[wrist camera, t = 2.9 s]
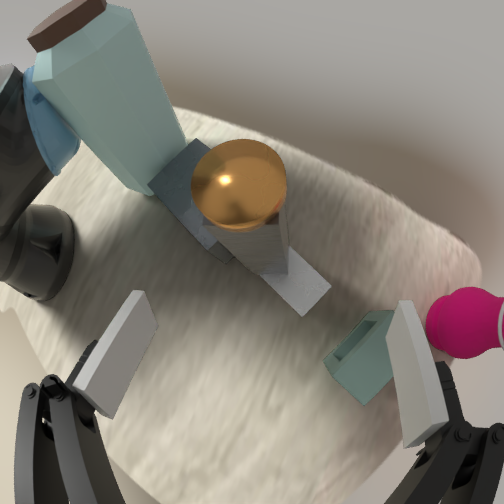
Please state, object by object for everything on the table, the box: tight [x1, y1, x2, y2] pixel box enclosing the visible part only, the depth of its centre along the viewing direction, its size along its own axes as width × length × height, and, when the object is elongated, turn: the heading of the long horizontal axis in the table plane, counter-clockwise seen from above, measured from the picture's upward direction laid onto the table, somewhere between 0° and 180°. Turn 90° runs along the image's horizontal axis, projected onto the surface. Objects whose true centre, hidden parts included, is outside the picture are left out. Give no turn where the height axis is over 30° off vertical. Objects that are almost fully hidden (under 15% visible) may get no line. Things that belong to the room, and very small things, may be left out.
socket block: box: [323, 310, 395, 406], centre depth 22 cm, size 4×7×7 cm, turn 134°
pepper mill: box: [426, 287, 504, 359], centre depth 14 cm, size 7×7×20 cm
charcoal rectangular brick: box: [147, 138, 234, 264], centre depth 28 cm, size 10×7×6 cm
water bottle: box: [27, 0, 188, 196], centre depth 21 cm, size 10×10×25 cm
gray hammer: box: [191, 139, 332, 317], centre depth 19 cm, size 18×4×18 cm, turn 44°
